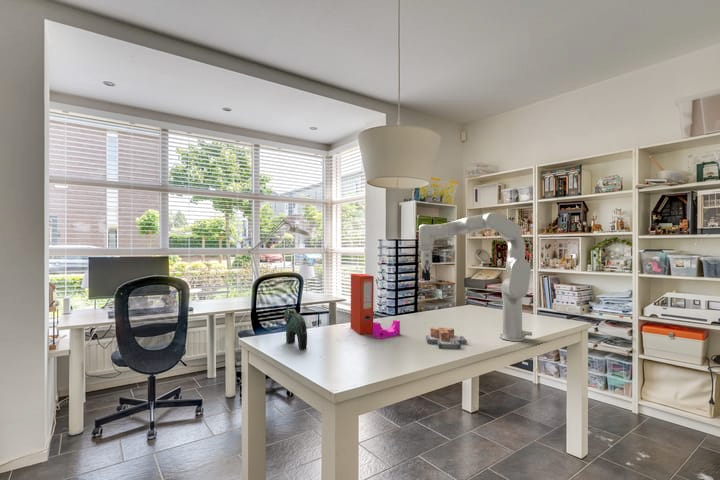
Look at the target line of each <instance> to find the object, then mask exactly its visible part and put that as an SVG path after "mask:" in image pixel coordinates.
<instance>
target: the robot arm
mask: <svg viewBox="0 0 720 480" xmlns="http://www.w3.org/2000/svg"><path fill="white" fill-rule="evenodd" d="M487 230H493V231H494V232H496V233H499V236H500V237H501V238H502V239H503V240H504V241H505V242H506V244H507V256H506V261H505V262H506V263H505V270H506V272H507V273H508V274H509V277H507V278H505V279H504V280H503V281H502V283H501V297H502V333H500V335H499V338H500V339H502V340H505V341H509V342H524V341H526V337H527V336H530V337H531V336H533V332H532V331H527V330H523V300H522V299H523V298H525V297H526V296H527V294H528V292H529V289H530V281H531V272H532V270H531V264H530V263H529V261H528V260H527V259H525V257H526V243H525V239H524V238H523V236H522V234H523V229H522V227H521V226H520V225H519V224H518V223H516V222H515V221H513V220H511V219H510V218H507V217H505V215H502V214H501V213H499V212H496V211H490V212H486V213H482V214H477V215H472V216H467V217H463V218H460V219H457V220H454V221H450V222H445V223H437V224H420V225H419V226H418V251H421V252H420V263H421V265H420V266H421V268H422V271H421V279H423V281H428V282H430V281H431V270H433V257H432V256H433V254H432V253H433V252H432V251H434V238H436V239H444V238H447V237H454V236H456V235H457V236H458V235H467V234H472V233H477V232H482V231H487Z"/></svg>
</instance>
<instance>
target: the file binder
mask: <svg viewBox="0 0 720 480" xmlns="http://www.w3.org/2000/svg"><path fill="white" fill-rule="evenodd" d="M374 278H375V277H374V276H373V275H370V274H365V273H351V274H350V329H351V330H353V331H355V332H356V333H358V335H362V336H363V335H373V322H374V291H375V290H374V289H375V288H374V286H375V285H374Z"/></svg>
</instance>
